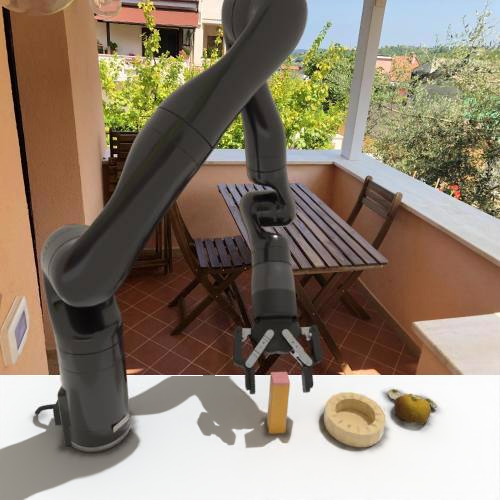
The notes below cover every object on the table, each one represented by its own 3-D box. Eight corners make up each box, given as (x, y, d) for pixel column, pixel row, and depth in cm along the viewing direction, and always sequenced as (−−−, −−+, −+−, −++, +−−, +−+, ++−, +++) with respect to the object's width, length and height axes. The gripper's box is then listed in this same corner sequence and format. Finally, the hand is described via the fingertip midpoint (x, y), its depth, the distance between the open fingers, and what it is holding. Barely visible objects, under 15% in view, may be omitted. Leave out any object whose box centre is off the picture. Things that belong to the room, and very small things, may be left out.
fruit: (435, 402, 77) (439, 385, 76) (437, 434, 70) (441, 417, 68) (388, 389, 80) (391, 373, 78) (384, 420, 72) (387, 402, 71)
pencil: (269, 433, 68) (273, 382, 65) (267, 421, 71) (270, 371, 67) (285, 433, 69) (290, 382, 65) (282, 421, 71) (286, 371, 67)
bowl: (333, 448, 66) (334, 435, 65) (317, 405, 75) (319, 393, 74) (392, 445, 67) (395, 433, 66) (370, 403, 76) (372, 391, 75)
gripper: (233, 286, 69) (235, 392, 62) (319, 286, 70) (331, 389, 64) (230, 300, 76) (232, 396, 69) (309, 299, 77) (318, 393, 71)
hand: (279, 393), depth 66 cm, fingers open, 8 cm apart
